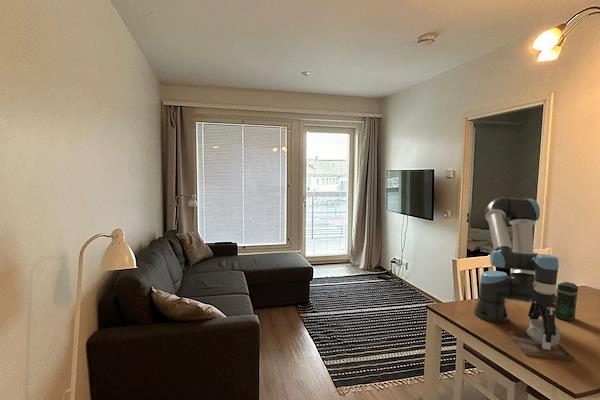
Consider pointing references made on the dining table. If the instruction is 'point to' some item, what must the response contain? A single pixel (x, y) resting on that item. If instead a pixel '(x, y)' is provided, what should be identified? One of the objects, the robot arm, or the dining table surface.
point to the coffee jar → (566, 301)
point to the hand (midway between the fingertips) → (539, 341)
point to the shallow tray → (539, 348)
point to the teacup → (537, 332)
